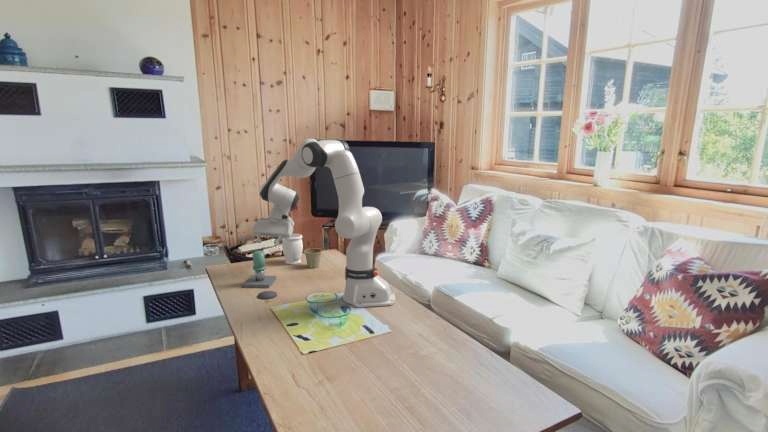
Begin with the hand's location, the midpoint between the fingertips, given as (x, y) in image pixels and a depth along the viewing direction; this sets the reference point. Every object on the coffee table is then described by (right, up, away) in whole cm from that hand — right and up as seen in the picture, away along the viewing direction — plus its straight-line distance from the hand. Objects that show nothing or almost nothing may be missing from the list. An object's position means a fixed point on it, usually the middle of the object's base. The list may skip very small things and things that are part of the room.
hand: (266, 243), depth 199 cm
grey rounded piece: (-2, -17, -4) cm, 17 cm away
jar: (+7, -12, +28) cm, 31 cm away
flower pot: (+18, -14, +22) cm, 32 cm away
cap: (-2, -11, -5) cm, 13 cm away
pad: (+5, -21, -18) cm, 29 cm away
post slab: (-2, -18, -3) cm, 19 cm away
